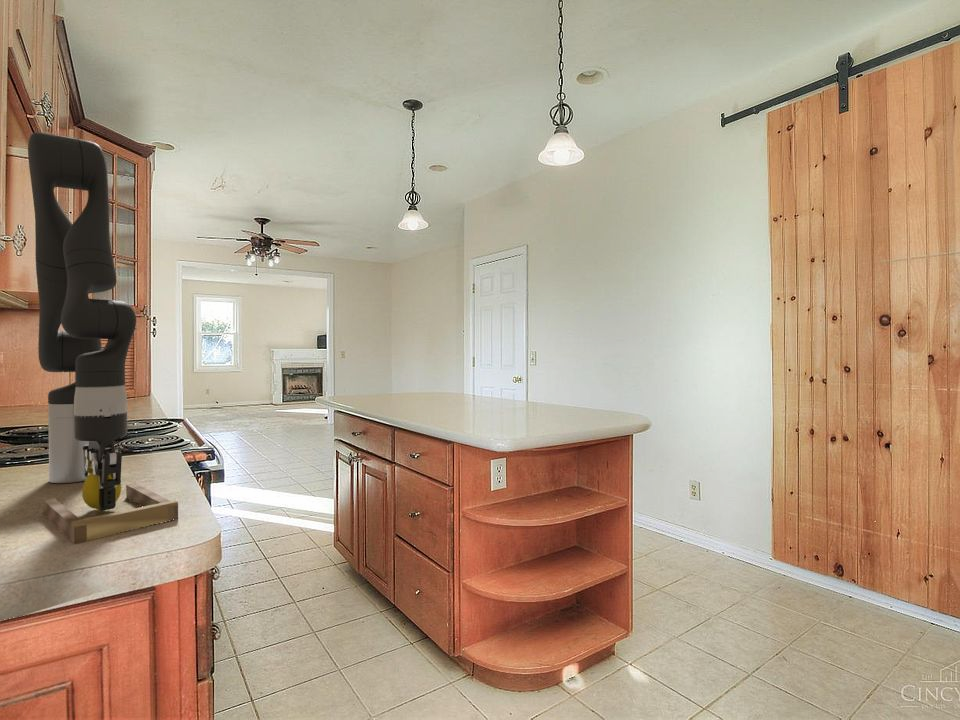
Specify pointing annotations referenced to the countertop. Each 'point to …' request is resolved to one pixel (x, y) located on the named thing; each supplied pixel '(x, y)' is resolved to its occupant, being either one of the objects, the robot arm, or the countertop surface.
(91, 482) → the lemon
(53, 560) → the countertop surface
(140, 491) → the brown wooden u-shaped frame
